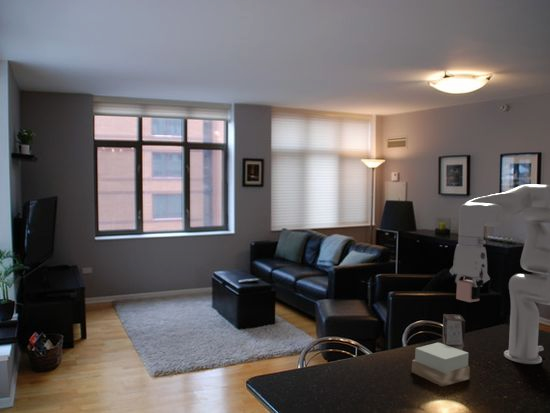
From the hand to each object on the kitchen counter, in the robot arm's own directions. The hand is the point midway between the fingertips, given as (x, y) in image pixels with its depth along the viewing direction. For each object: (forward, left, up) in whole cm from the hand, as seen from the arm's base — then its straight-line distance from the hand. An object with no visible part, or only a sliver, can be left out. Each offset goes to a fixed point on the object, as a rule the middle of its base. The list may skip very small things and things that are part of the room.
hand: (467, 296), depth 158 cm
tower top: (+4, -6, -24) cm, 25 cm away
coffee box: (-10, -14, -28) cm, 33 cm away
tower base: (+5, -6, -28) cm, 29 cm away
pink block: (0, 0, -1) cm, 1 cm away
